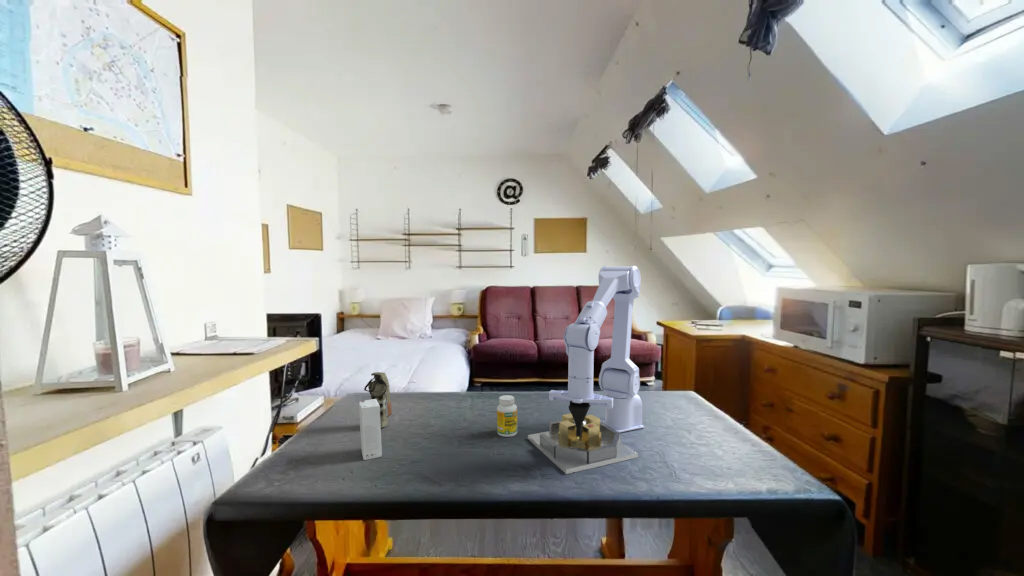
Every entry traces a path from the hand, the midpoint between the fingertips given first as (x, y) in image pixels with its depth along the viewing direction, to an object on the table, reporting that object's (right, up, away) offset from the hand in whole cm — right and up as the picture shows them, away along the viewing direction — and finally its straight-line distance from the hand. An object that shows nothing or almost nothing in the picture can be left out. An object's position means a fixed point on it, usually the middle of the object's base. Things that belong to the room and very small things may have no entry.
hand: (579, 434), depth 91 cm
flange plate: (+1, -5, +5) cm, 7 cm away
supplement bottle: (-17, -5, +14) cm, 22 cm away
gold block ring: (+1, -4, +5) cm, 6 cm away
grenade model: (-52, -5, +17) cm, 55 cm away
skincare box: (-49, -6, +2) cm, 49 cm away
